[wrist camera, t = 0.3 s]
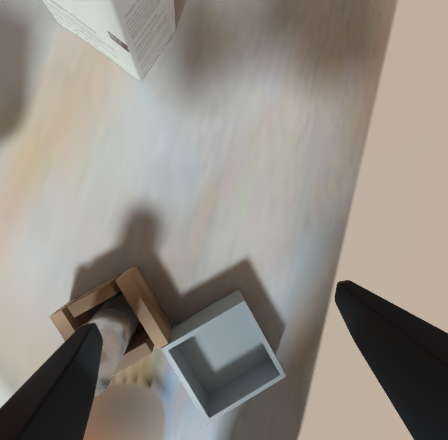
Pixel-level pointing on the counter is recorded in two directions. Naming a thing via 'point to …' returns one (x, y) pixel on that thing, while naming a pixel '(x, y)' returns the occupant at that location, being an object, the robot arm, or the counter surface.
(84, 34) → the skincare box
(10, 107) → the counter surface
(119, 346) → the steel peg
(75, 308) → the socket block
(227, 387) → the tray
